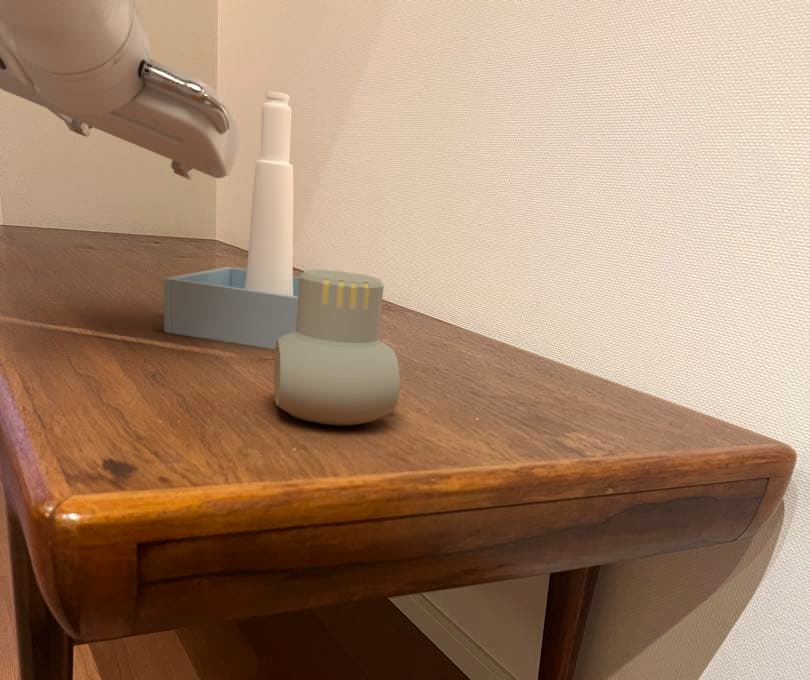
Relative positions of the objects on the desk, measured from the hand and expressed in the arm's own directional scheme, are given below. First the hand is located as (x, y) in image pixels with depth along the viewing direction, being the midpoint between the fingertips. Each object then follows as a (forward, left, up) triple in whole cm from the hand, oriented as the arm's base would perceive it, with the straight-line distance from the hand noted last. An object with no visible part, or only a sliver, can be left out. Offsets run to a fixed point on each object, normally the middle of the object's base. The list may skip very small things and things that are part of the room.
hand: (135, 148), depth 67 cm
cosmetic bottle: (+9, +10, -16) cm, 21 cm away
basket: (+9, +10, -16) cm, 21 cm away
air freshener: (+23, -15, -17) cm, 32 cm away
